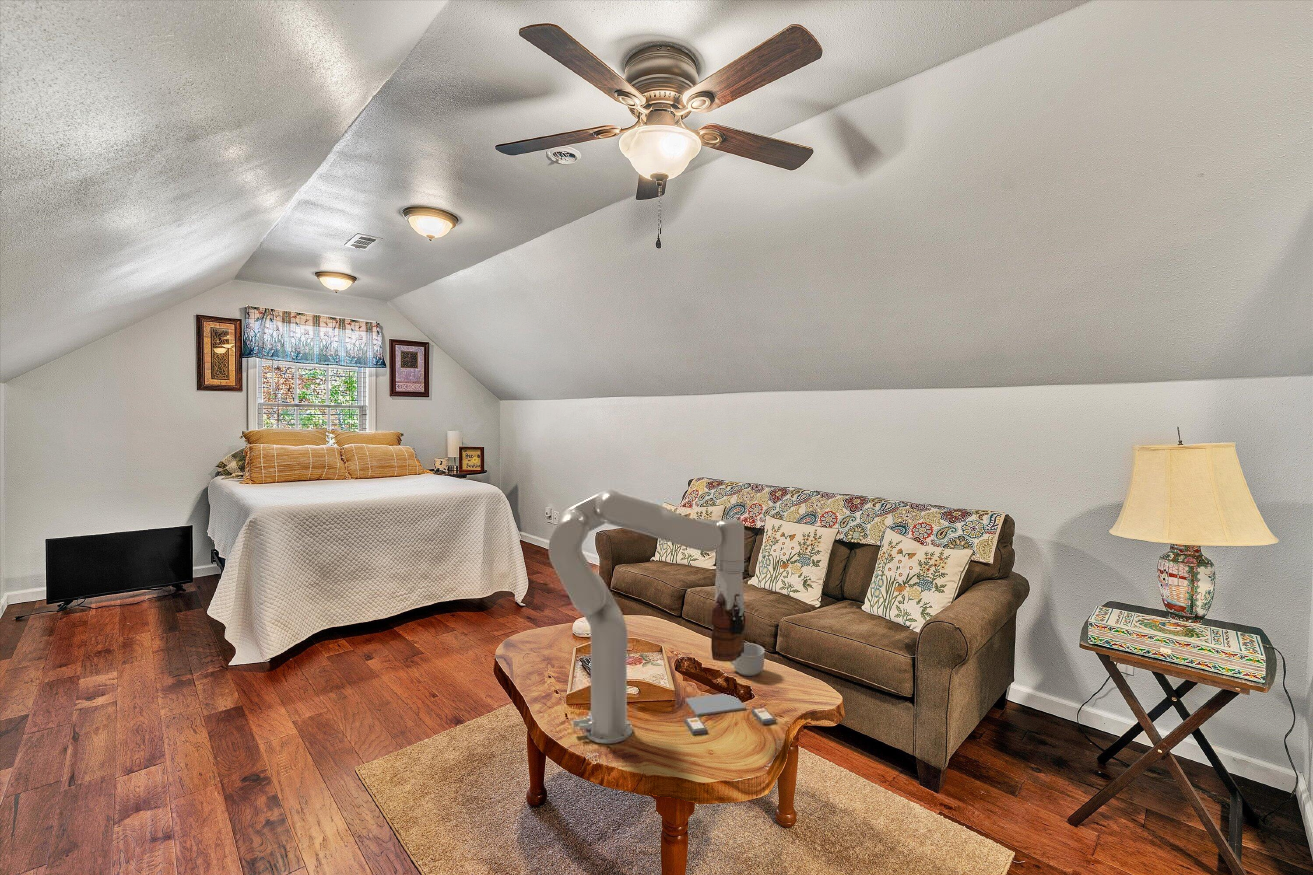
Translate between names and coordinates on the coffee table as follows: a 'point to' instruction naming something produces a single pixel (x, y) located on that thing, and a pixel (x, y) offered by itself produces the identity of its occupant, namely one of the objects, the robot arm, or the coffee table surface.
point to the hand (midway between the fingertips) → (729, 628)
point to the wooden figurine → (725, 633)
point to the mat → (714, 704)
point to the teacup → (750, 660)
